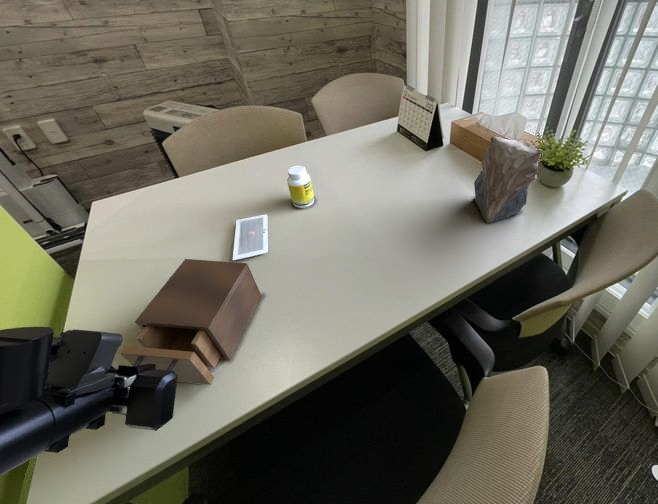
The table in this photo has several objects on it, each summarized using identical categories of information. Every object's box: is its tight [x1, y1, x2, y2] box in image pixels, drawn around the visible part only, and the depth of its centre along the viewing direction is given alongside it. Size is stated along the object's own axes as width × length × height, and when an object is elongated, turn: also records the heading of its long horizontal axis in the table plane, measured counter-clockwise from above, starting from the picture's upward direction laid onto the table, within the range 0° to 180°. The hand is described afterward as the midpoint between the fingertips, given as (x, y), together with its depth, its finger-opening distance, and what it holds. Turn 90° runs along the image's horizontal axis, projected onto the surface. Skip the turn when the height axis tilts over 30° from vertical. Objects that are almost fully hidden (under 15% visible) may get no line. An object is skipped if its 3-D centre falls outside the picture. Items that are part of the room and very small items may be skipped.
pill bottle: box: [286, 164, 315, 209], centre depth 91 cm, size 6×6×11 cm
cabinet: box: [134, 258, 263, 361], centre depth 61 cm, size 14×13×11 cm
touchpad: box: [232, 213, 269, 261], centre depth 82 cm, size 8×15×2 cm, turn 18°
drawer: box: [119, 325, 222, 386], centre depth 55 cm, size 17×11×9 cm, turn 175°
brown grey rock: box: [473, 135, 543, 224], centre depth 86 cm, size 13×13×20 cm
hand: (153, 367), depth 49 cm, fingers closed, pressing on drawer
